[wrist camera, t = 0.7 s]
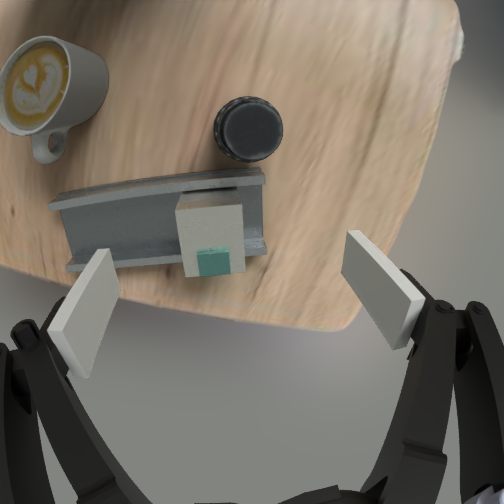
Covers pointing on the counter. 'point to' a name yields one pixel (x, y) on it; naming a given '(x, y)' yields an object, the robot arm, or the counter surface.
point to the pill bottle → (248, 129)
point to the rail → (169, 221)
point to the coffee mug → (50, 92)
